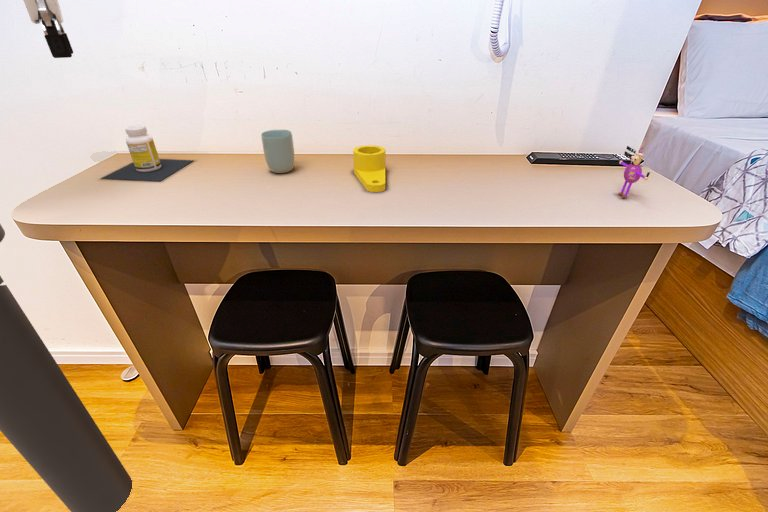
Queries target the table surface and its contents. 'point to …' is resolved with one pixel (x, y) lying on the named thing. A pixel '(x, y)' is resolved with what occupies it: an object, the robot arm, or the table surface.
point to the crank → (370, 167)
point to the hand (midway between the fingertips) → (64, 55)
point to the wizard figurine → (632, 170)
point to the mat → (158, 175)
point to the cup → (278, 150)
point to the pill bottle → (142, 149)
